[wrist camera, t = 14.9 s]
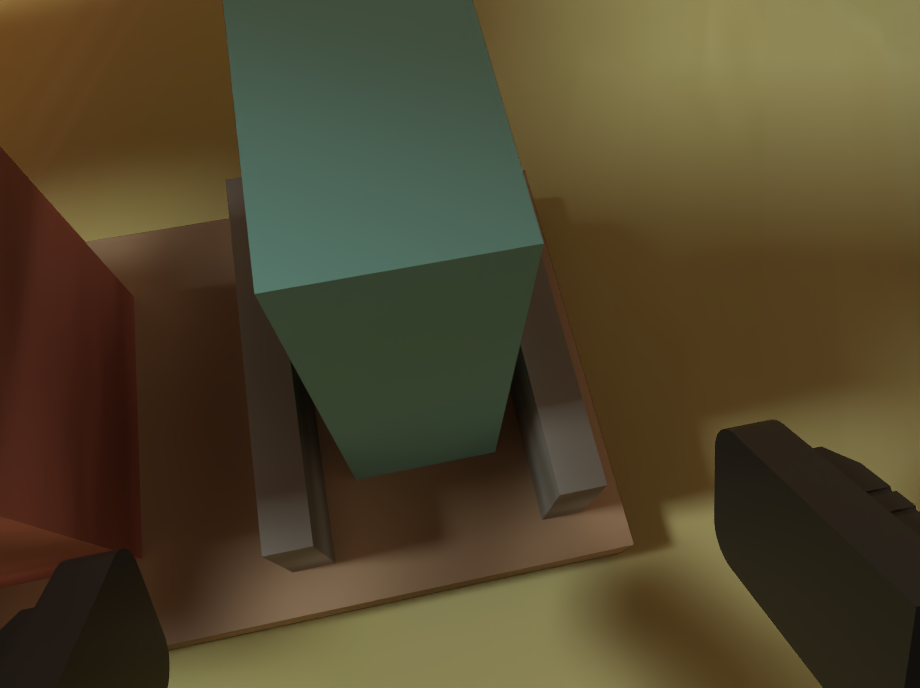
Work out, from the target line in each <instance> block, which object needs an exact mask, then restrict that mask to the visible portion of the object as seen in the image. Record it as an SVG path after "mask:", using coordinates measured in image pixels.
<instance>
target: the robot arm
mask: <svg viewBox="0 0 920 688" xmlns="http://www.w3.org/2000/svg"><path fill="white" fill-rule="evenodd" d="M714 523H715V531H716V536H717V539H718V543H719V546H720V549H721V551H722V553H723V556H724V558H725V560H726V561H727V563H728V565H729V566H730V568H731V569H732V570H733V571H734V573H735V574H736V575H737V577H738V578H739V579H740V581H741V582H742V583H743V584H744V586H745V587H746V588H747V590H748V591H749V592H750V594H751V595H752V596H753V597H754V599H755V600H756V601H757V603H758V604H759V605H760V606H761V608H762V609H763V610H764V612H765V613H766V614H767V616H768V617H769V618H770V619H771V621H772V622H773V623H774V625H775V626H776V627H777V629H778V630H779V631H780V632H781V634H782V635H783V636H784V638H785V639H786V640H787V642H788V643H789V644H790V645H791V647H792V648H793V649H794V651H795V652H796V653H797V654H798V656H799V657H800V658H801V660H802V661H803V662H804V664H805V665H806V666H807V667H808V669H809V670H810V671H811V673H812V674H813V675H814V677H815V678H816V679H817V680H818V682H819V683H820V684H821V686H822V687H823V688H920V512H918V511H917V510H916V506H915V505H914V504H913V503H911V502H910V501H909V500H907V499H906V498H905V497H904V496H902V495H901V494H900V493H898V492H897V491H894V492H892V490H891V488H890V486H889V485H888V484H887V483H885V482H884V481H883V480H882V479H880V478H879V477H878V476H876V475H875V474H874V473H873V472H871V471H870V470H869V469H867V468H866V467H865V466H864V465H862V464H861V463H859V462H857V461H854V460H852V459H849V458H847V457H845V456H842V455H840V454H838V453H835V452H833V451H831V450H828V449H826V448H823V447H817V448H812V447H811V446H809V445H808V444H807V443H806V442H804V441H803V440H802V439H801V438H800V437H798V436H797V435H796V434H795V433H794V432H792V431H791V430H790V429H789V428H787V427H786V426H785V425H784V424H782V423H781V422H780V421H777V420H767V421H762V422H757V423H752V424H747V425H742V426H737V427H732V428H727V429H723V430H721V431H720V432H719V433H718V435H717V437H716V442H715V501H714ZM168 682H169V653H168V646H167V642H166V638H165V635H164V632H163V630H162V627H161V624H160V622H159V619H158V617H157V614H156V611H155V609H154V606H153V603H152V601H151V598H150V595H149V593H148V590H147V588H146V585H145V582H144V580H143V577H142V574H141V572H140V569H139V566H138V564H137V562H136V559H135V557H134V556H133V554H132V553H131V552H130V551H129V550H128V549H125V548H123V549H118V550H113V551H108V552H103V553H98V554H93V555H88V556H83V557H78V558H73V559H68V560H64V561H62V562H61V563H60V564H59V565H58V566H57V567H56V569H55V571H54V573H53V574H52V576H51V578H50V580H49V582H48V583H47V585H46V587H45V589H44V591H43V593H42V594H41V596H40V598H39V600H38V602H37V603H36V605H35V607H33V608H28V609H23V610H20V611H19V612H18V613H17V614H16V615H15V616H14V617H13V618H12V619H11V620H10V621H9V622H8V623H7V624H6V625H5V626H4V627H2V628H1V629H0V688H167V687H168Z"/></svg>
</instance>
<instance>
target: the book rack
mask: <svg viewBox="0 0 920 688" xmlns="http://www.w3.org/2000/svg"><path fill="white" fill-rule="evenodd" d="M523 174H524V178H525V181H526V185H527V188H528V191H529V195H530V198H531V202H532V205H533V208H534V212H535V215H536V219H537V222H538V226H539V229H540V232H541V236H542V239H543V243H544V244H543V249H542V253H541V257H540V262H539V266H538V270H537V274H536V279H535V283H534V287H533V292H532V296H531V300H530V305H529V309H528V313H527V317H526V322H525V326H524V330H523V335H522V339H521V343H520V348H519V352H518V356H517V360H516V365H515V369H514V373H513V378H512V382H511V386H510V390H509V395H508V399H507V403H506V408H505V412H504V416H503V421H502V425H501V429H500V433H499V438H498V442H497V446H496V451H495V452H493V453H488V454H483V455H478V456H473V457H468V458H463V459H458V460H453V461H448V462H444V463H439V464H434V465H429V466H424V467H419V468H414V469H409V470H404V471H399V472H394V473H389V474H384V475H379V476H374V477H369V478H364V479H359V480H356V479H355V477H354V476H353V474H352V472H351V470H350V468H349V466H348V465H347V463H346V461H345V459H344V457H343V455H342V454H341V452H340V450H339V448H338V446H337V444H336V443H335V441H334V439H333V437H332V435H331V433H330V432H329V430H328V428H327V426H326V424H325V422H324V421H323V419H322V417H321V415H320V413H319V411H318V410H317V408H316V406H315V404H314V402H313V400H312V399H311V397H310V395H309V393H308V391H307V389H306V388H305V386H304V384H303V382H302V380H301V378H300V377H299V375H298V373H297V371H296V369H295V367H294V366H293V364H292V362H291V360H290V358H289V356H288V355H287V353H286V351H285V349H284V347H283V345H282V344H281V342H280V340H279V338H278V336H277V334H276V333H275V331H274V329H273V327H272V325H271V323H270V322H269V320H268V318H267V316H266V314H265V312H264V311H263V309H262V307H261V305H260V303H259V301H258V300H257V298H256V296H255V294H254V285H253V276H252V267H251V258H250V249H249V239H248V230H247V221H246V212H245V202H244V193H243V184H242V177H241V178H235V179H229V180H226V187H227V197H228V208H229V219H223V220H217V221H211V222H205V223H198V224H192V225H186V226H180V227H174V228H168V229H162V230H156V231H149V232H143V233H137V234H131V235H125V236H119V237H113V238H107V239H100V240H94V241H88V242H85V241H84V240H83V239H82V238H81V237H80V236H79V235H78V233H77V232H76V231H75V230H74V229H73V228H72V227H71V226H70V224H69V223H68V222H67V221H66V220H65V219H64V218H63V217H62V216H61V214H60V213H59V212H58V211H57V210H56V209H55V208H54V207H53V205H52V204H51V203H50V202H49V201H48V200H47V199H46V198H45V196H44V195H43V194H42V193H41V192H40V191H39V190H38V189H37V187H36V186H35V185H34V184H33V183H32V182H31V181H30V180H29V178H28V177H27V176H26V175H25V174H24V173H23V172H22V171H21V169H20V168H19V167H18V166H17V165H16V164H15V163H14V162H13V161H12V159H11V158H10V157H9V156H8V155H7V154H6V153H5V152H4V150H3V149H2V148H1V147H0V629H1V628H2V627H4V626H5V625H6V624H7V623H8V622H9V621H10V620H11V619H12V618H13V617H14V616H15V615H16V614H17V613H18V612H19V611H20V610H23V609H28V608H33V607H35V605H36V603H37V602H38V600H39V598H40V596H41V594H42V593H43V591H44V589H45V587H46V585H47V583H48V582H49V580H50V578H51V576H52V574H53V573H54V571H55V569H56V567H57V566H58V565H59V564H60V563H61V562H62V561H64V560H68V559H73V558H78V557H83V556H88V555H93V554H98V553H103V552H108V551H113V550H118V549H123V548H125V549H128V550H129V551H130V552H131V553H132V554H133V556H134V557H135V559H136V562H137V564H138V566H139V569H140V572H141V574H142V577H143V580H144V582H145V585H146V588H147V590H148V593H149V595H150V598H151V601H152V603H153V606H154V609H155V611H156V614H157V617H158V619H159V622H160V624H161V627H162V630H163V632H164V635H165V638H166V642H167V646H168V650H172V649H176V648H181V647H186V646H190V645H195V644H199V643H204V642H209V641H213V640H218V639H223V638H227V637H232V636H236V635H241V634H246V633H250V632H255V631H260V630H264V629H269V628H273V627H278V626H283V625H287V624H292V623H297V622H301V621H306V620H310V619H315V618H320V617H324V616H329V615H334V614H338V613H343V612H347V611H352V610H357V609H361V608H366V607H371V606H375V605H380V604H384V603H389V602H394V601H398V600H403V599H408V598H412V597H417V596H421V595H426V594H431V593H435V592H440V591H445V590H449V589H454V588H458V587H463V586H468V585H472V584H477V583H482V582H486V581H491V580H495V579H500V578H505V577H509V576H514V575H519V574H523V573H528V572H532V571H537V570H542V569H546V568H551V567H556V566H560V565H565V564H569V563H574V562H579V561H583V560H588V559H593V558H597V557H602V556H606V555H611V554H616V553H620V552H622V551H624V550H625V549H627V548H629V547H631V546H632V545H634V543H633V540H632V536H631V533H630V530H629V526H628V523H627V519H626V516H625V512H624V509H623V506H622V502H621V499H620V495H619V492H618V488H617V485H616V482H615V478H614V475H613V471H612V468H611V465H610V461H609V458H608V454H607V451H606V447H605V444H604V441H603V437H602V434H601V430H600V427H599V423H598V420H597V417H596V413H595V410H594V406H593V403H592V399H591V396H590V393H589V389H588V386H587V382H586V379H585V375H584V372H583V369H582V365H581V362H580V358H579V355H578V352H577V348H576V345H575V341H574V338H573V334H572V331H571V328H570V324H569V321H568V317H567V314H566V310H565V307H564V304H563V300H562V297H561V293H560V290H559V286H558V283H557V280H556V276H555V273H554V269H553V266H552V262H551V259H550V256H549V252H548V249H547V245H546V242H545V239H544V235H543V232H542V228H541V225H540V221H539V218H538V215H537V211H536V208H535V204H534V201H533V197H532V194H531V191H530V187H529V184H528V180H527V177H526V173H525V170H523Z"/></svg>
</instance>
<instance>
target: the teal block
mask: <svg viewBox="0 0 920 688" xmlns="http://www.w3.org/2000/svg"><path fill="white" fill-rule="evenodd" d="M223 9H224V18H225V27H226V36H227V46H228V55H229V64H230V73H231V82H232V92H233V101H234V110H235V119H236V129H237V138H238V147H239V156H240V165H241V175H242V184H243V193H244V202H245V212H246V221H247V230H248V239H249V249H250V258H251V267H252V276H253V285H254V294H255V296H256V298H257V300H258V301H259V303H260V305H261V307H262V309H263V311H264V312H265V314H266V316H267V318H268V320H269V322H270V323H271V325H272V327H273V329H274V331H275V333H276V334H277V336H278V338H279V340H280V342H281V344H282V345H283V347H284V349H285V351H286V353H287V355H288V356H289V358H290V360H291V362H292V364H293V366H294V367H295V369H296V371H297V373H298V375H299V377H300V378H301V380H302V382H303V384H304V386H305V388H306V389H307V391H308V393H309V395H310V397H311V399H312V400H313V402H314V404H315V406H316V408H317V410H318V411H319V413H320V415H321V417H322V419H323V421H324V422H325V424H326V426H327V428H328V430H329V432H330V433H331V435H332V437H333V439H334V441H335V443H336V444H337V446H338V448H339V450H340V452H341V454H342V455H343V457H344V459H345V461H346V463H347V465H348V466H349V468H350V470H351V472H352V474H353V476H354V477H355V479H356V480H359V479H364V478H369V477H374V476H379V475H384V474H389V473H394V472H399V471H404V470H409V469H414V468H419V467H424V466H429V465H434V464H439V463H444V462H448V461H453V460H458V459H463V458H468V457H473V456H478V455H483V454H488V453H493V452H495V451H496V446H497V442H498V438H499V433H500V429H501V425H502V421H503V416H504V412H505V408H506V403H507V399H508V395H509V390H510V386H511V382H512V378H513V373H514V369H515V365H516V360H517V356H518V352H519V348H520V343H521V339H522V335H523V330H524V326H525V322H526V317H527V313H528V309H529V305H530V300H531V296H532V292H533V287H534V283H535V279H536V274H537V270H538V266H539V262H540V257H541V253H542V249H543V244H544V243H543V239H542V236H541V232H540V229H539V226H538V222H537V219H536V215H535V212H534V208H533V205H532V202H531V198H530V195H529V191H528V188H527V185H526V181H525V178H524V174H523V171H522V168H521V164H520V161H519V157H518V154H517V150H516V147H515V144H514V140H513V137H512V133H511V130H510V127H509V123H508V120H507V116H506V113H505V109H504V106H503V103H502V99H501V96H500V92H499V89H498V86H497V82H496V79H495V75H494V72H493V68H492V65H491V62H490V58H489V55H488V51H487V48H486V45H485V41H484V38H483V34H482V31H481V27H480V24H479V21H478V17H477V14H476V10H475V7H474V4H473V0H223Z"/></svg>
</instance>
